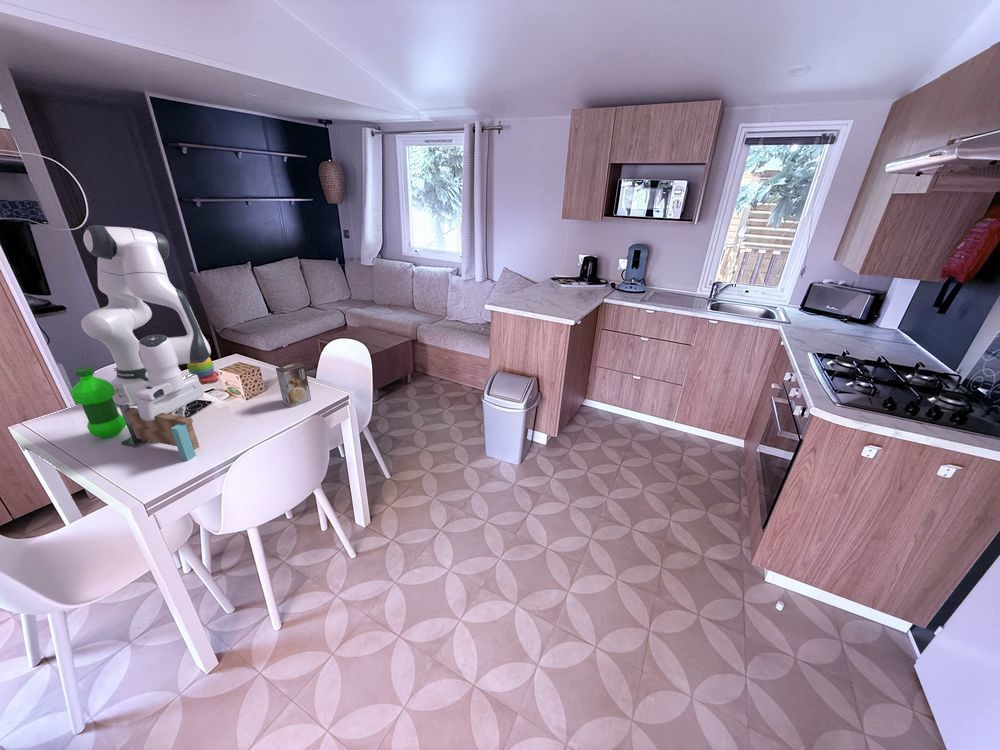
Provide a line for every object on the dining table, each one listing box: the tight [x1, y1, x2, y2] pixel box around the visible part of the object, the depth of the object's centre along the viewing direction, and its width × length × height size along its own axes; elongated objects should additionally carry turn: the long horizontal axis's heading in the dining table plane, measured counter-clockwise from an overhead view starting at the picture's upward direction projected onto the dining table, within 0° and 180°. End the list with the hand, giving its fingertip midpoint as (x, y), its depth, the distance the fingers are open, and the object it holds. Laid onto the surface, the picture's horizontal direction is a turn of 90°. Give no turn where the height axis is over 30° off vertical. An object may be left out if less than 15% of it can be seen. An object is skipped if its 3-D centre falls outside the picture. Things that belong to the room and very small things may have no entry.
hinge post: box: [118, 404, 148, 448], centre depth 135 cm, size 6×6×14 cm
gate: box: [125, 407, 200, 451], centre depth 132 cm, size 24×2×11 cm, turn 78°
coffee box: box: [275, 361, 312, 408], centre depth 164 cm, size 9×6×16 cm
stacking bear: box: [186, 357, 220, 385], centre depth 178 cm, size 11×10×18 cm
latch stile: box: [171, 423, 197, 462], centre depth 128 cm, size 2×3×12 cm
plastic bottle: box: [70, 366, 127, 439], centre depth 135 cm, size 10×10×25 cm
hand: (179, 418), depth 139 cm, fingers closed
